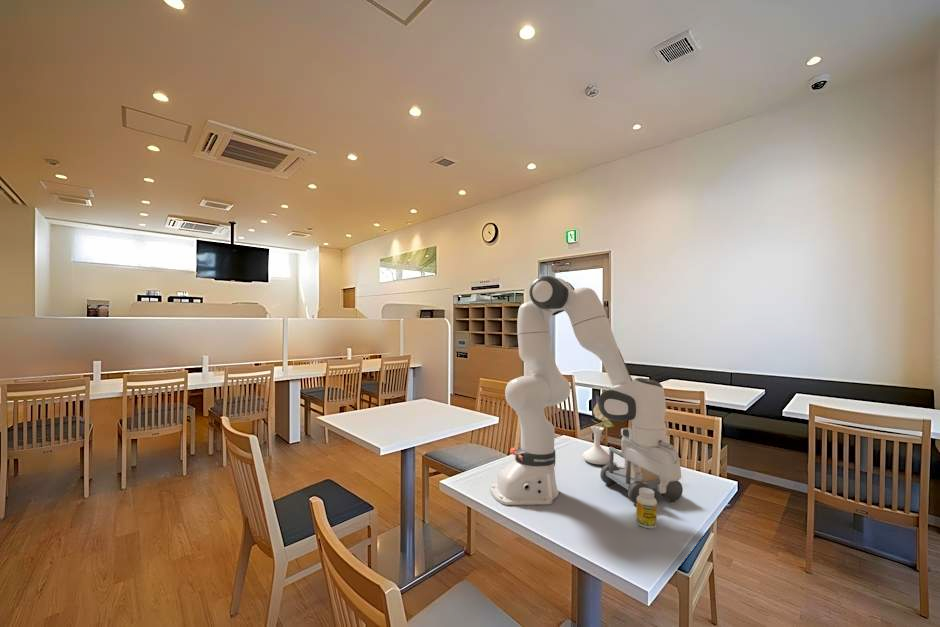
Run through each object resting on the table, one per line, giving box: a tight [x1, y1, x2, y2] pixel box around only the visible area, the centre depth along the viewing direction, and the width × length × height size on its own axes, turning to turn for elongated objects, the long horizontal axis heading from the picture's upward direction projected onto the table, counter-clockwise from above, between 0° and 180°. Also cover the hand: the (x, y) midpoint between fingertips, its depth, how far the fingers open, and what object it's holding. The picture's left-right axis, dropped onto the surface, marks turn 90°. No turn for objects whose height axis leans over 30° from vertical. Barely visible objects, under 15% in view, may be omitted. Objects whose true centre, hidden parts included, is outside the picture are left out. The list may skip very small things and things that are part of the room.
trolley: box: [600, 446, 683, 505], centre depth 133 cm, size 19×17×14 cm
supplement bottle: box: [635, 488, 658, 529], centre depth 113 cm, size 5×5×10 cm
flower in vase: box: [582, 402, 615, 466], centre depth 160 cm, size 13×11×25 cm
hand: (649, 485), depth 112 cm, fingers open, 8 cm apart
